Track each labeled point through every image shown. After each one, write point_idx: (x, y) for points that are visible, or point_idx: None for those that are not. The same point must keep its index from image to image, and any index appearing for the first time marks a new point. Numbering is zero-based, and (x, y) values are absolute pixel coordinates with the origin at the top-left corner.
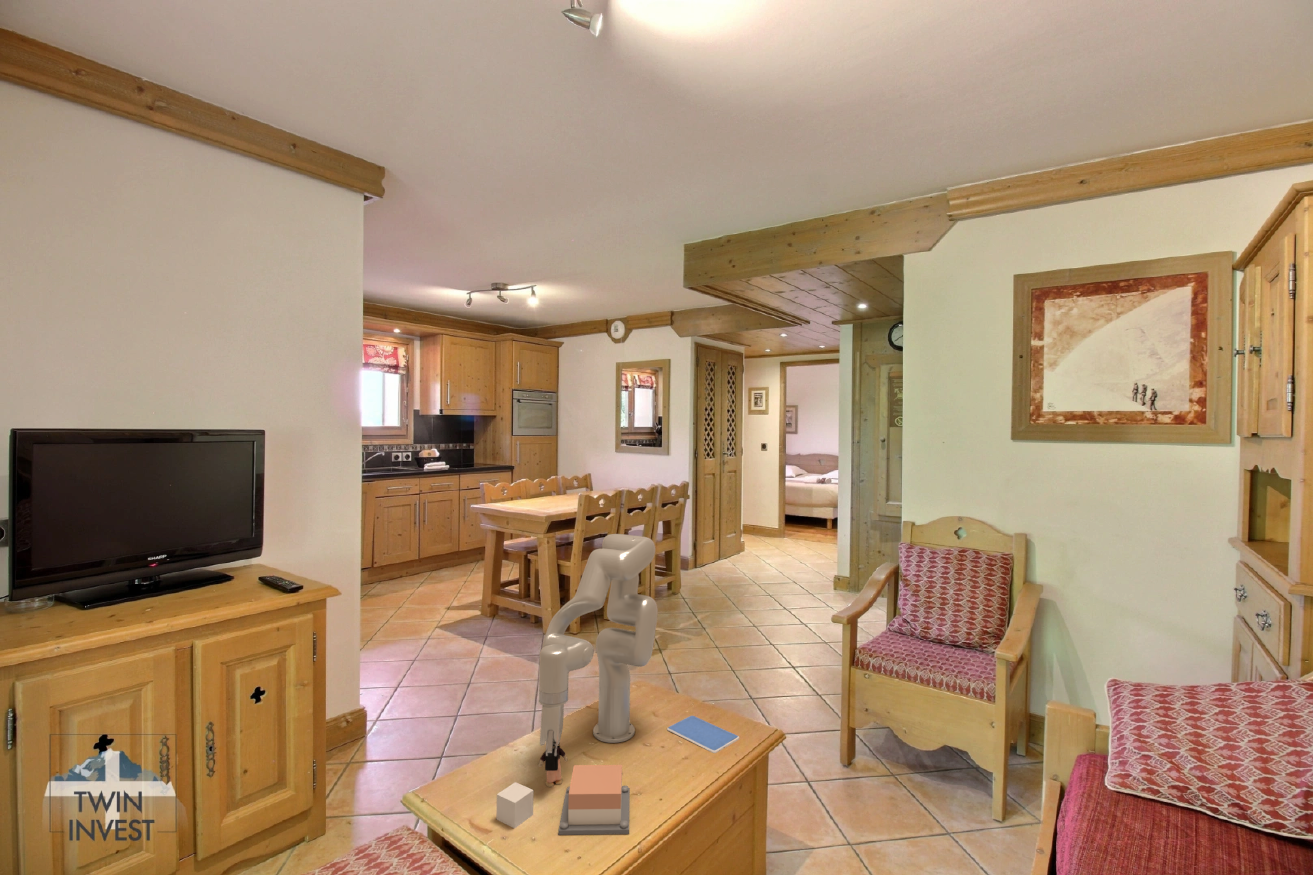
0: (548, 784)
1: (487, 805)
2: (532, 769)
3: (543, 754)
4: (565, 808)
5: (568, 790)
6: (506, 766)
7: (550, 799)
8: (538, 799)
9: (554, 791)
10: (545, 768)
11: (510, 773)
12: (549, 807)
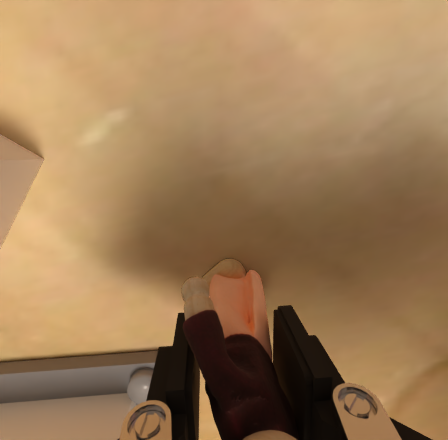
0: (208, 277)
1: (23, 7)
2: (342, 177)
3: (204, 356)
4: (26, 381)
5: (130, 383)
6: (382, 28)
7: (114, 300)
8: (108, 253)
9: (171, 305)
10: (179, 318)
11: (315, 69)
12: (59, 307)
